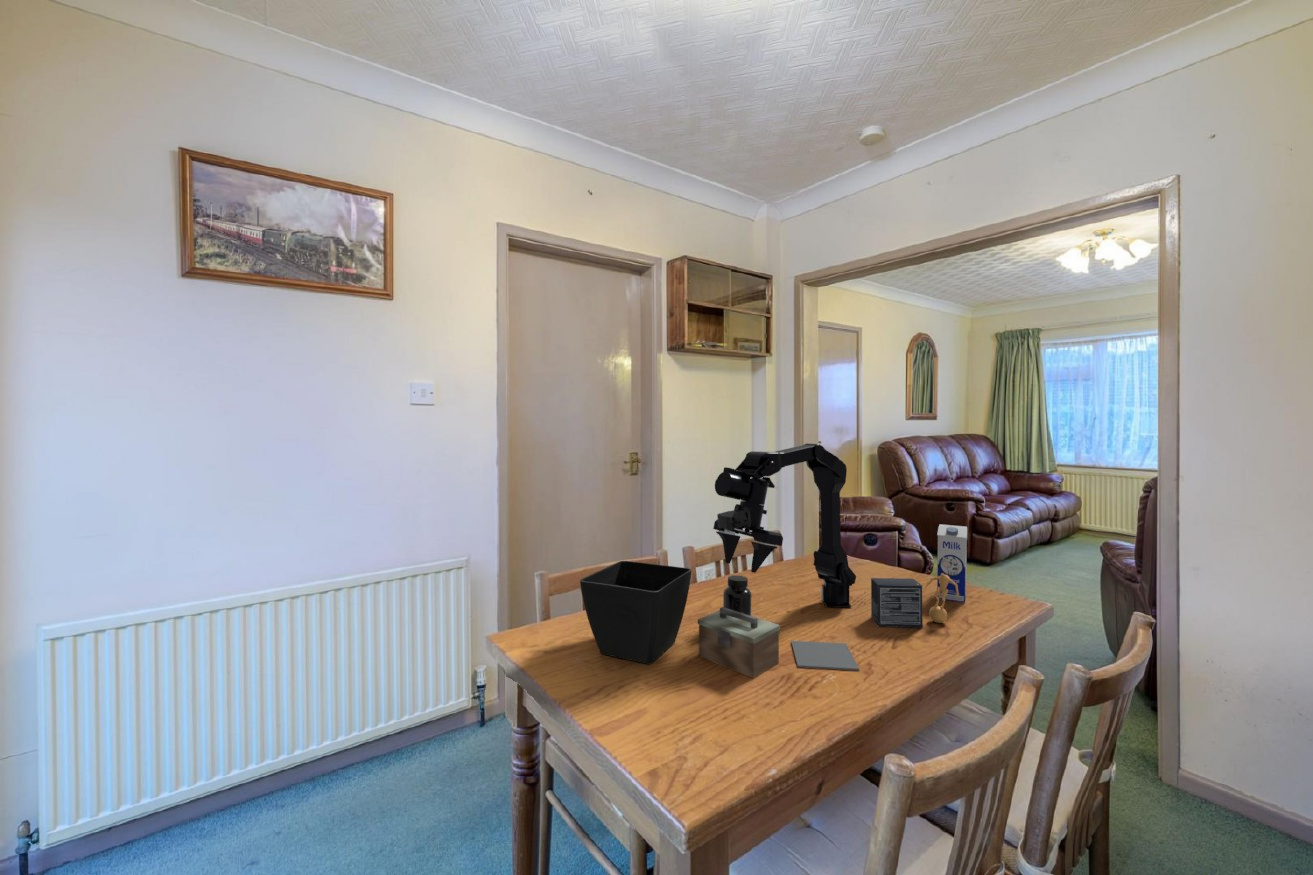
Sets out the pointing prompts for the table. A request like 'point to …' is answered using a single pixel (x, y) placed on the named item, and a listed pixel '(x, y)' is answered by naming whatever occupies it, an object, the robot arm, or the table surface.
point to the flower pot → (636, 608)
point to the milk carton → (952, 559)
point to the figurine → (937, 611)
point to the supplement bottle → (738, 595)
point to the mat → (823, 655)
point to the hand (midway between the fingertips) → (740, 567)
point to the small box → (896, 602)
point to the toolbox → (739, 641)
